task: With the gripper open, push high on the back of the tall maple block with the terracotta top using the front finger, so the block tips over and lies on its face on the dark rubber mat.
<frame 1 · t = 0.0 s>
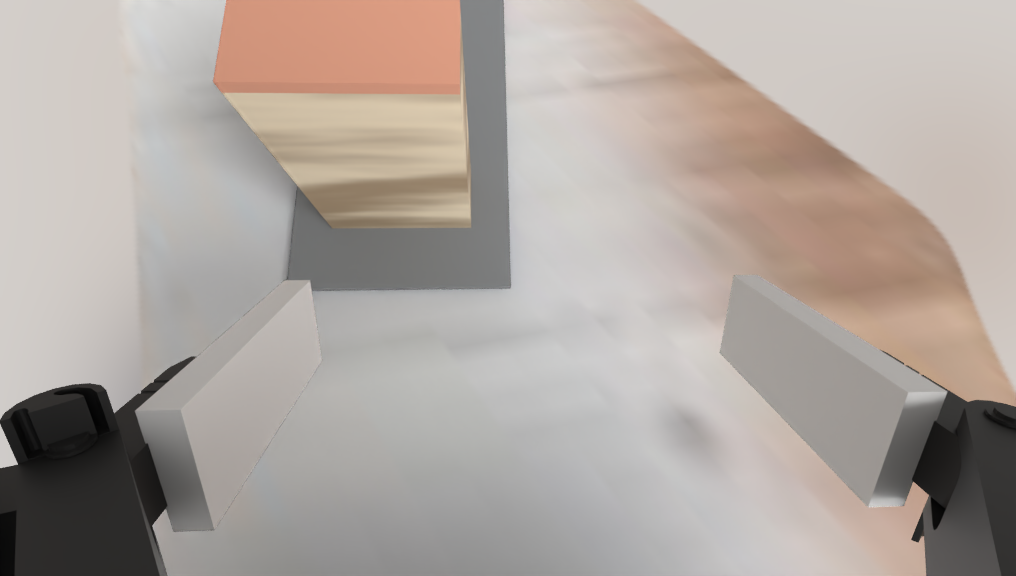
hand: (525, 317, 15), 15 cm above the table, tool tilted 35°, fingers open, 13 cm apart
block: (403, 200, 32), point 1 cm above the table, touching mat
mat: (408, 113, 34), on the table
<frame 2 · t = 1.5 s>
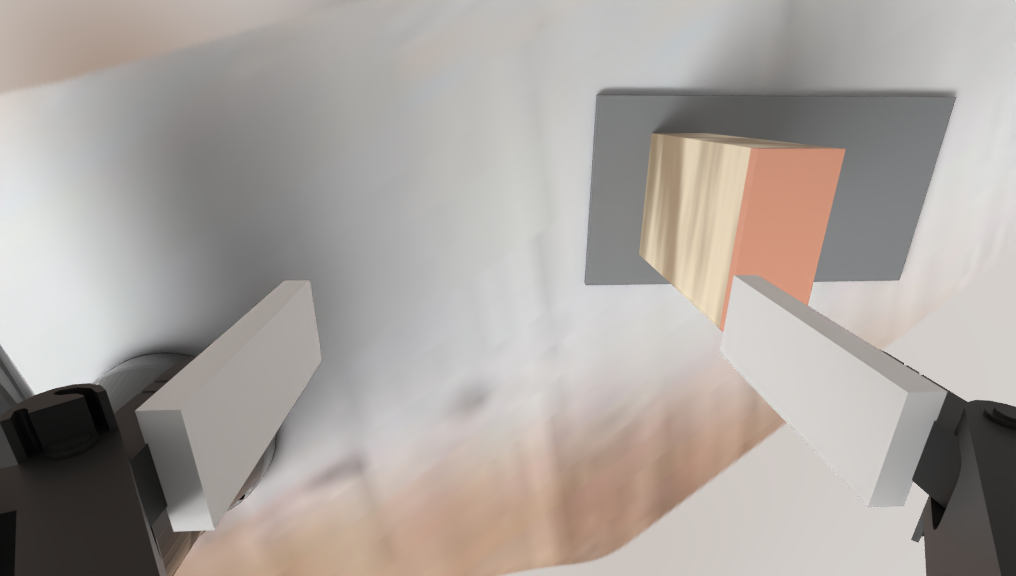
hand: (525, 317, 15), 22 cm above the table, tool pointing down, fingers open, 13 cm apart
block: (671, 196, 36), point 1 cm above the table, touching mat
mat: (757, 194, 37), on the table
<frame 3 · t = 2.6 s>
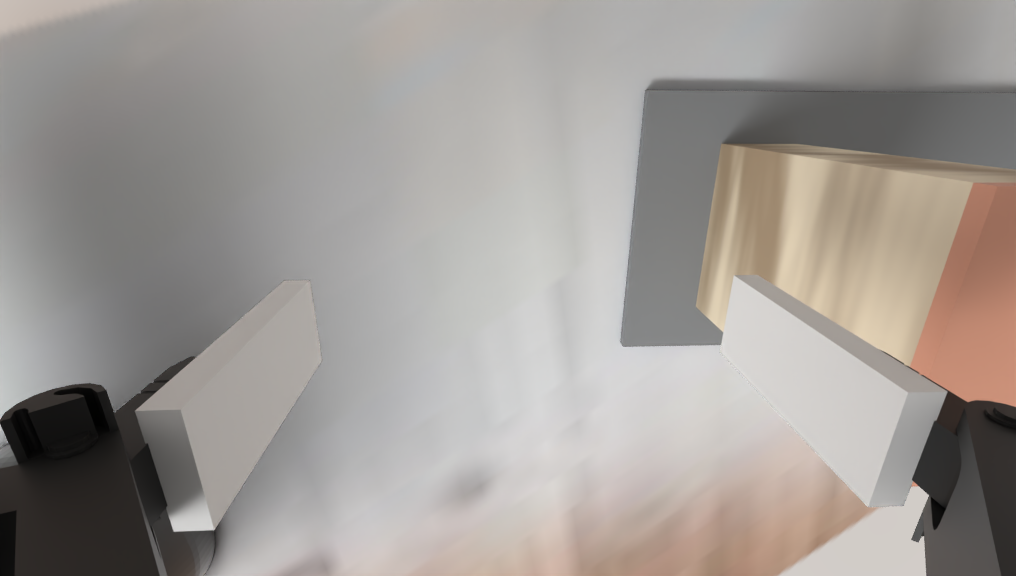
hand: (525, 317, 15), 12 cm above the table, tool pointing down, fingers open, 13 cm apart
block: (743, 229, 26), point 1 cm above the table, touching mat
mat: (859, 226, 27), on the table
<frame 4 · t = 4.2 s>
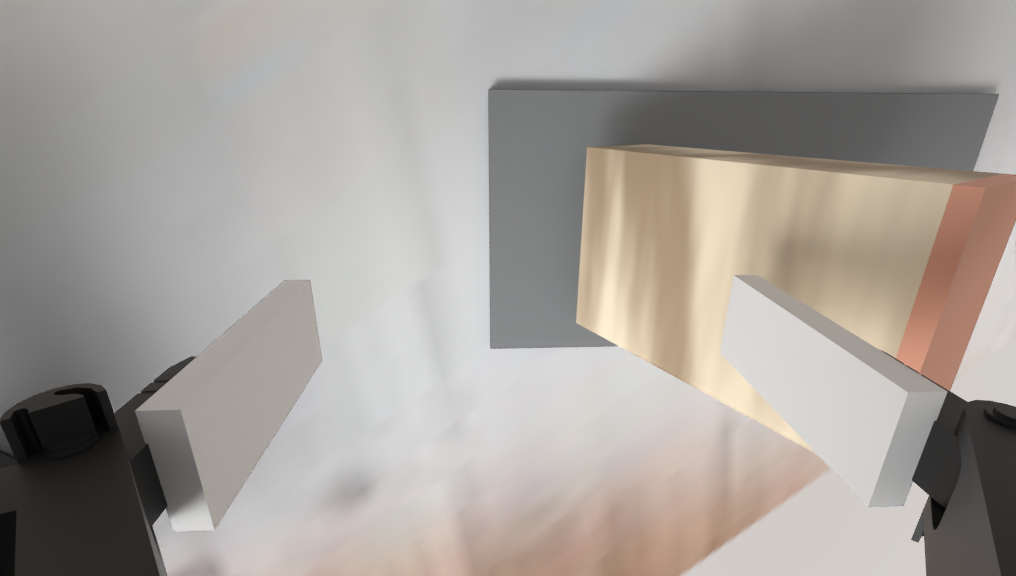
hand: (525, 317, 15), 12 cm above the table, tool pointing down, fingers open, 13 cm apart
block: (610, 235, 25), point 2 cm above the table, tilted 30°, touching mat
mat: (722, 227, 27), on the table
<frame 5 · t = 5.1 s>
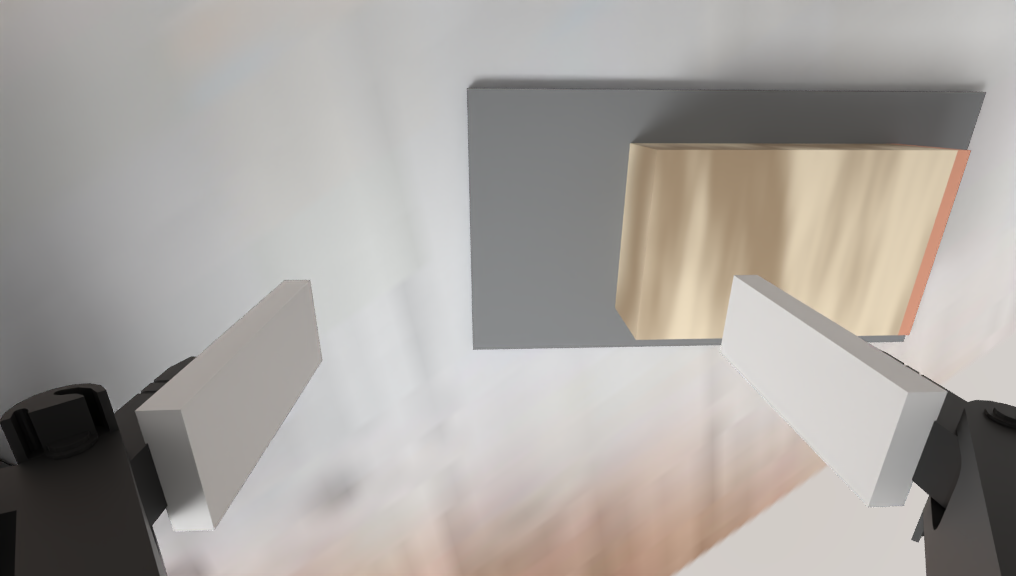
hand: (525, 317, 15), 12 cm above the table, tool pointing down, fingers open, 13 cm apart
block: (632, 240, 24), point 3 cm above the table, tilted 90°, touching mat
mat: (706, 227, 26), on the table
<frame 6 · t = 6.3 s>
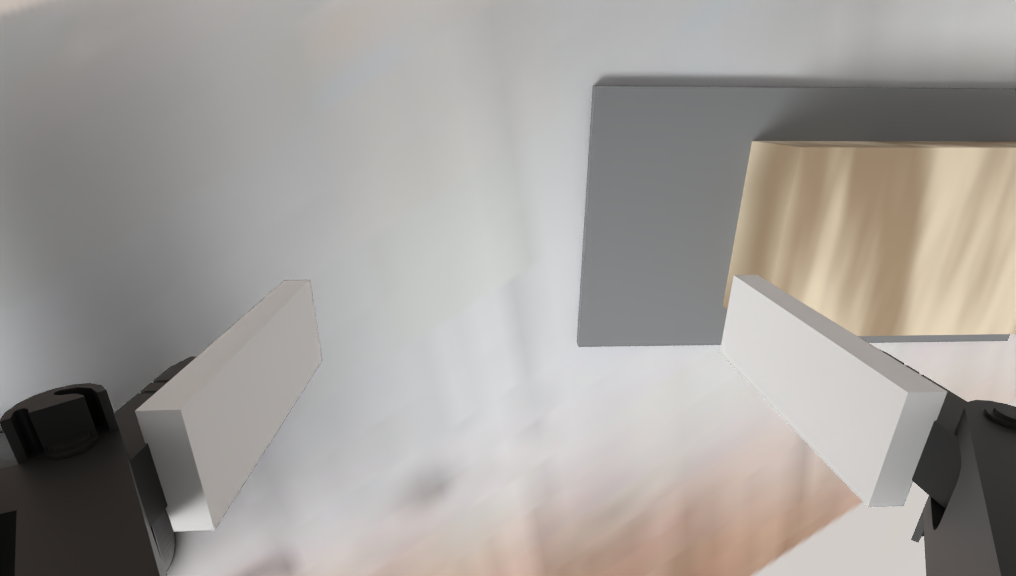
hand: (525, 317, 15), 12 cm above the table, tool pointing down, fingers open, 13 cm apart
block: (755, 238, 24), point 3 cm above the table, tilted 90°, touching mat
mat: (817, 225, 26), on the table
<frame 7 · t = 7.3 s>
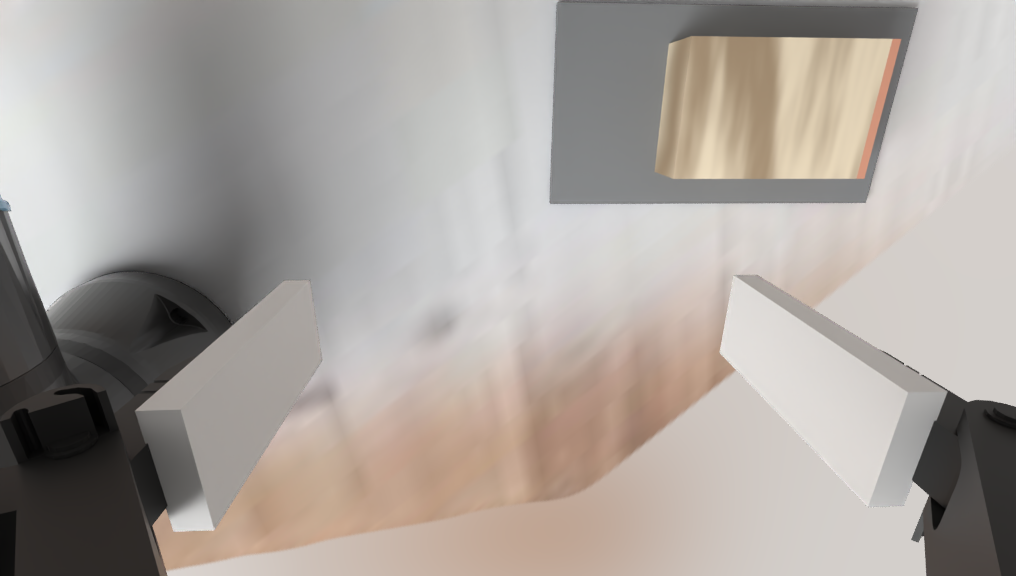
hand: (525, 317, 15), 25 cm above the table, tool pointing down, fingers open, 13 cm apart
block: (671, 110, 34), point 3 cm above the table, tilted 90°, touching mat
mat: (721, 110, 37), on the table
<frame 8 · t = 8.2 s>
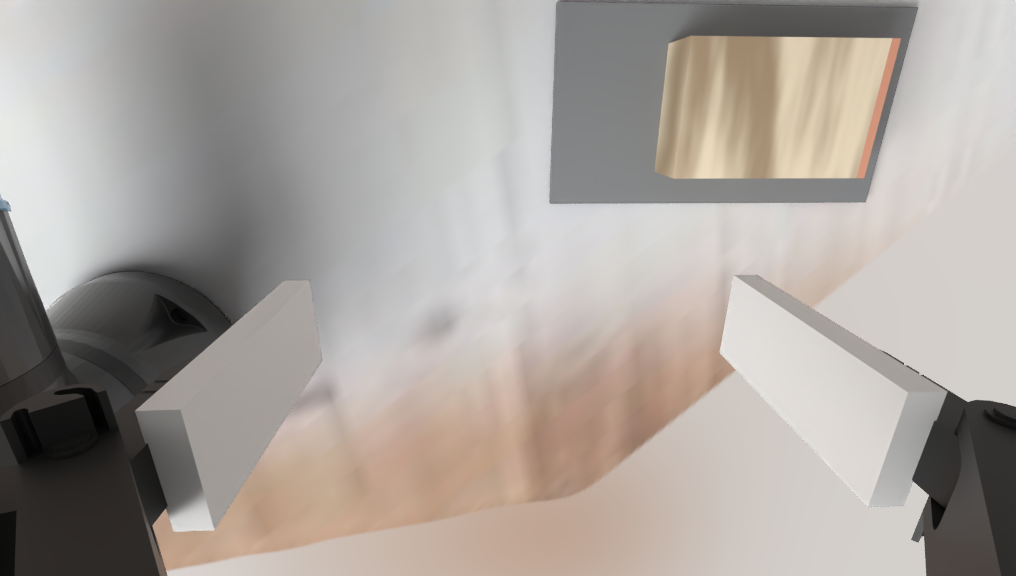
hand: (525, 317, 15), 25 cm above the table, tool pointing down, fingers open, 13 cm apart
block: (670, 110, 34), point 3 cm above the table, tilted 90°, touching mat
mat: (721, 110, 37), on the table
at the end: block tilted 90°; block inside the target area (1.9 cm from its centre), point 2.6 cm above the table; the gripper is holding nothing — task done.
